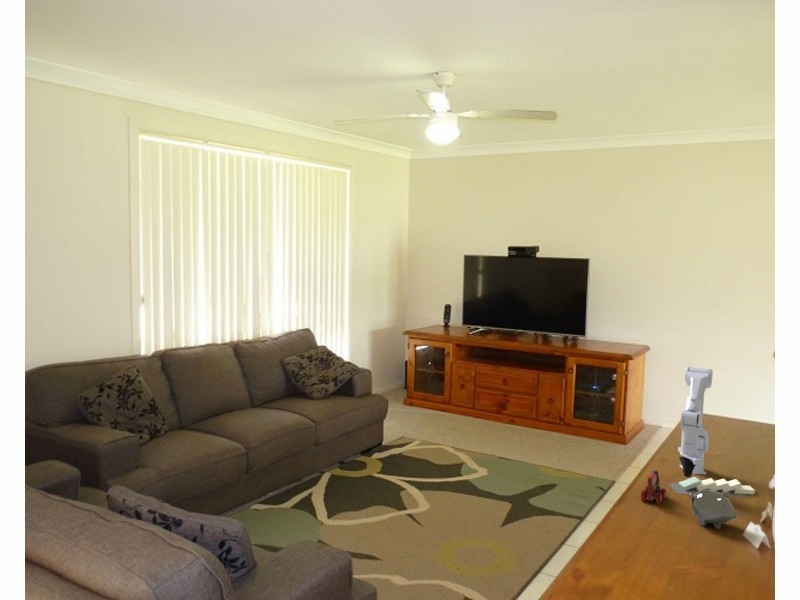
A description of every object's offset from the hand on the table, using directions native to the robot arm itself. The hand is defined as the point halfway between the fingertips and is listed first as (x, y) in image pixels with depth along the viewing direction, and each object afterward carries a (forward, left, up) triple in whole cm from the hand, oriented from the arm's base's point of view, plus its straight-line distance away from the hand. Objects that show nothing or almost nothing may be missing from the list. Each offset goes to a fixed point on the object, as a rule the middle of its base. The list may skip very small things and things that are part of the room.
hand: (687, 476), depth 249 cm
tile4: (0, +12, -4) cm, 13 cm away
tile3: (0, +8, -4) cm, 9 cm away
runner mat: (0, +8, -5) cm, 9 cm away
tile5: (0, +17, -4) cm, 17 cm away
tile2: (0, +3, -4) cm, 5 cm away
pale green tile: (0, -2, -4) cm, 5 cm away
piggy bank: (+30, -2, -6) cm, 31 cm away
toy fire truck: (+11, -16, -6) cm, 20 cm away
